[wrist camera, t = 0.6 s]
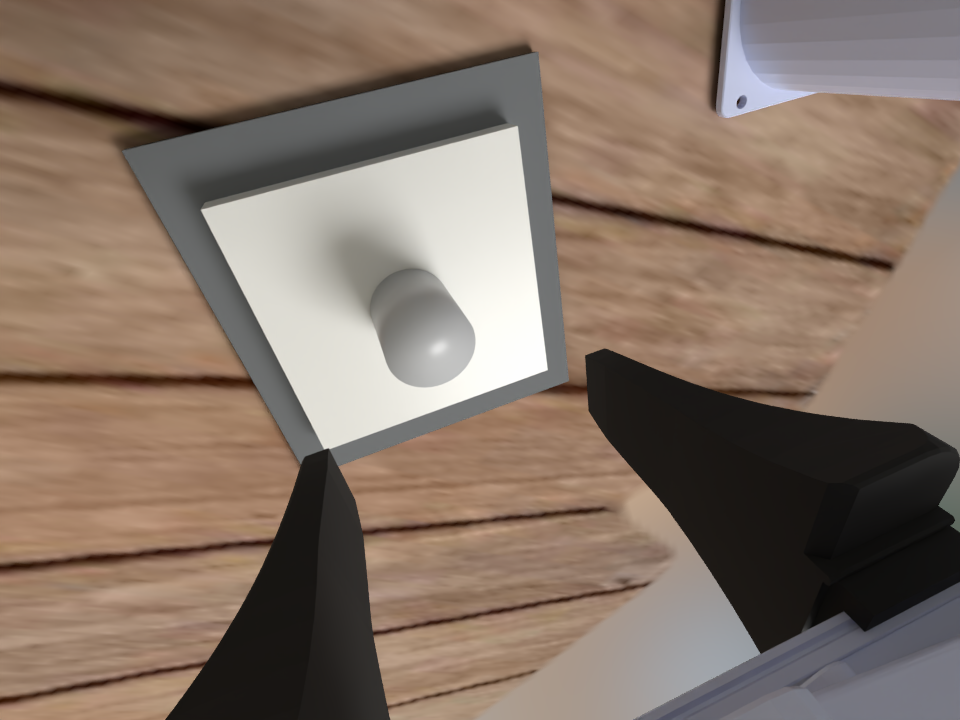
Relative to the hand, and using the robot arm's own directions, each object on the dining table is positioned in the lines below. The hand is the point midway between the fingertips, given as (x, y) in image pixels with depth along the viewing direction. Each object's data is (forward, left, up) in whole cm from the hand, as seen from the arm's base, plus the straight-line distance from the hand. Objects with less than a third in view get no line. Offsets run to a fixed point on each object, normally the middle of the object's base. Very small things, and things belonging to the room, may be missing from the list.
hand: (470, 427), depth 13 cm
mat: (0, 0, -9) cm, 9 cm away
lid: (0, 0, -9) cm, 9 cm away
